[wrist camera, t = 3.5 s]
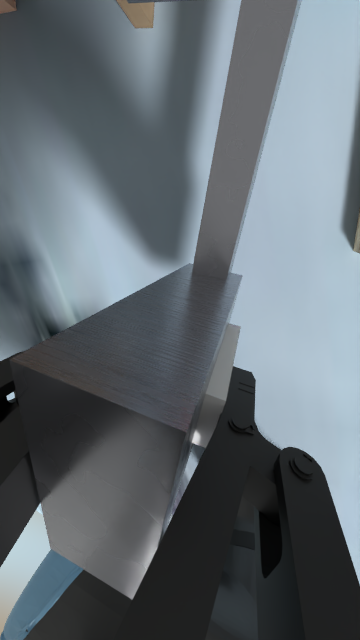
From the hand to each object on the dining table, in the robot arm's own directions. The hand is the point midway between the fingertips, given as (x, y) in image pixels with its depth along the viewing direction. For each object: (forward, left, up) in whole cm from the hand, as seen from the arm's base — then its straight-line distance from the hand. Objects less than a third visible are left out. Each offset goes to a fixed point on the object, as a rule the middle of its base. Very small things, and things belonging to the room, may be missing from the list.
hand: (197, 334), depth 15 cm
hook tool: (+6, +3, -2) cm, 7 cm away
